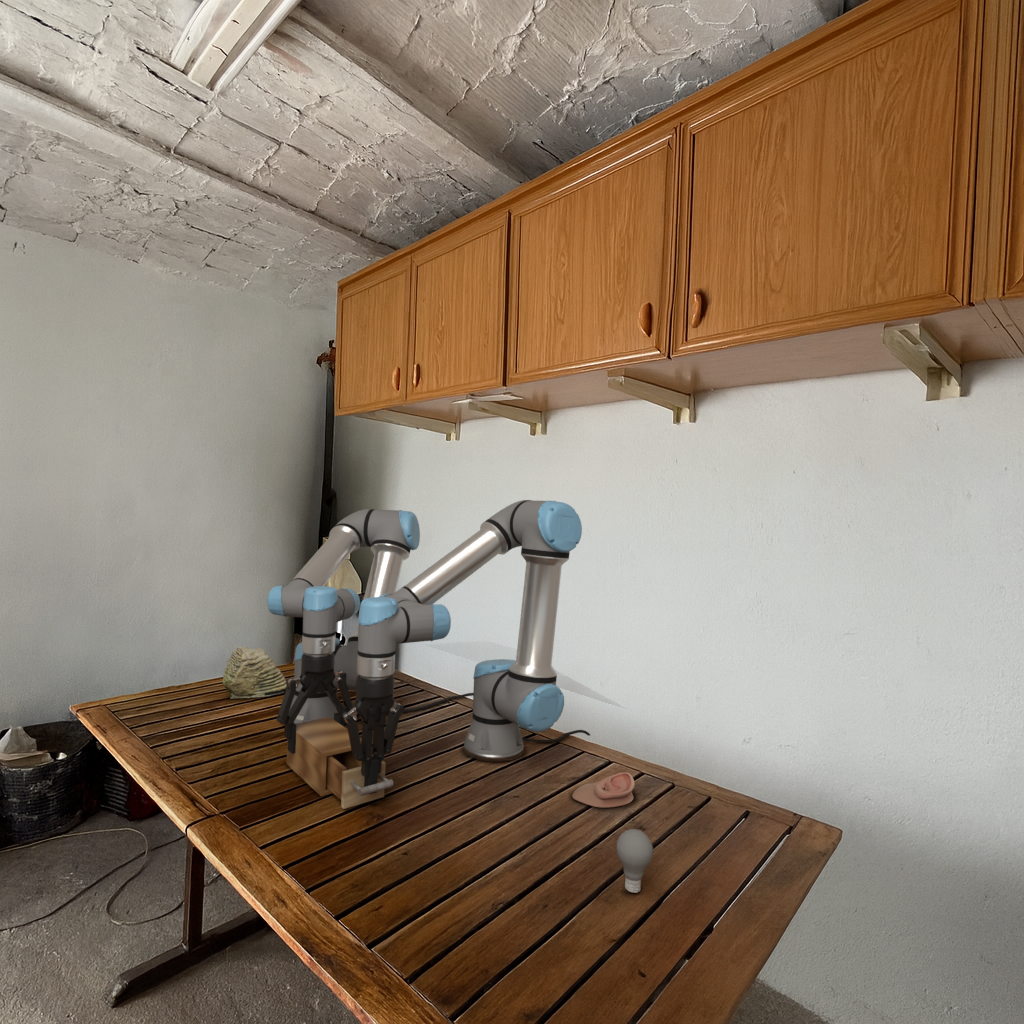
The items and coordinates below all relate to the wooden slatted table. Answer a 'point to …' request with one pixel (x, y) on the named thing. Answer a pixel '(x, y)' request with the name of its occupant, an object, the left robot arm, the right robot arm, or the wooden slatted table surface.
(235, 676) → the fossil
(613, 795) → the anatomical model
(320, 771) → the cabinet
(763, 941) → the wooden slatted table surface
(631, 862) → the light bulb
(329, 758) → the drawer
